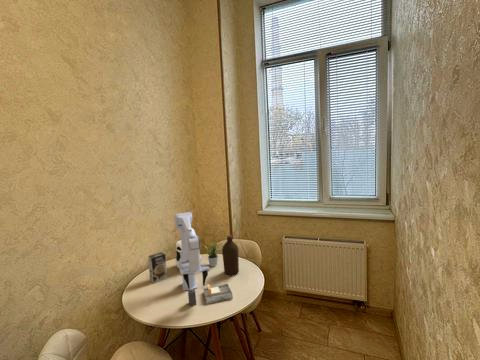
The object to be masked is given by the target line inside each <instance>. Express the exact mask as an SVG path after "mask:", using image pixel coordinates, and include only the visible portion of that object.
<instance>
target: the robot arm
mask: <svg viewBox="0 0 480 360" xmlns="http://www.w3.org/2000/svg"><path fill="white" fill-rule="evenodd" d="M173 218H174V226H175V228H176V229H178V230H179V235H180V240H181V244H182V252H183V256H182V257H181V258H180V259H179V268H178V269H179V273H180V276H181V277H182V283H181V286H182V291H188V290H190V289H191V288H192V289H195V290H196V289H197V288H198V286H197V282H196V275H197V274H200V273H201V275H202V286H203V287H205V285H206V284H205V283H206V280H207V277H208V275H209V273H208V272H210V270H211V269H210V265H209V266H201V263H200V257H201V252H200V251H201V250H200V249H201V246H202V245H201V239H200V236H198V235H197V234H196V231H195V229H194V228H192V222H193V213H192V212H191V211H189V212H188V211H187V212H182V213H181V212H180V213H175V214H174V216H173ZM187 260H189V261H187ZM183 261H185V262H183Z"/></svg>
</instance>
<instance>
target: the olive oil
mask: <svg viewBox="0 0 480 360" xmlns="http://www.w3.org/2000/svg"><path fill="white" fill-rule="evenodd" d="M221 252H222V262H223V263H222V264H223V272H224V275H225V274H226V275H225V276H228V275H229V277H231V276H232V275H234V276H236V274H237V273H238V272H240V271H239V270H240V268H239V264H240V263H239V247H238V245H237V244H236V243H235V242H234V241H233V236H232V234H227V235H226V242H225V243H224V244H223V246H222V248H221ZM238 274H239V273H238ZM238 274H237V275H238ZM232 277H233V276H232Z"/></svg>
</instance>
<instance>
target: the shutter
mask: <svg viewBox="0 0 480 360" xmlns="http://www.w3.org/2000/svg"><path fill="white" fill-rule="evenodd" d="M206 285H207V289H208V293H209V295H212V294H217V293H220V290H219V288H218V287H214V288H211V285H210V284H209V283H208V284H206Z"/></svg>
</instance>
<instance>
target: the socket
mask: <svg viewBox="0 0 480 360" xmlns="http://www.w3.org/2000/svg"><path fill="white" fill-rule="evenodd" d="M210 287H211V288H214V287H218V288H219V290H220V293H217V294H212V295H209V293H208V289H207V287H203V288H202V290H203V296H204V298H205V303H206V305H208V304H213V303H217V302H221V301H227V300H233V297H234V296H233V291H232V290H231V287H230V286H229V283H222V284H218V285H212V286H211V285H210Z"/></svg>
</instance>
